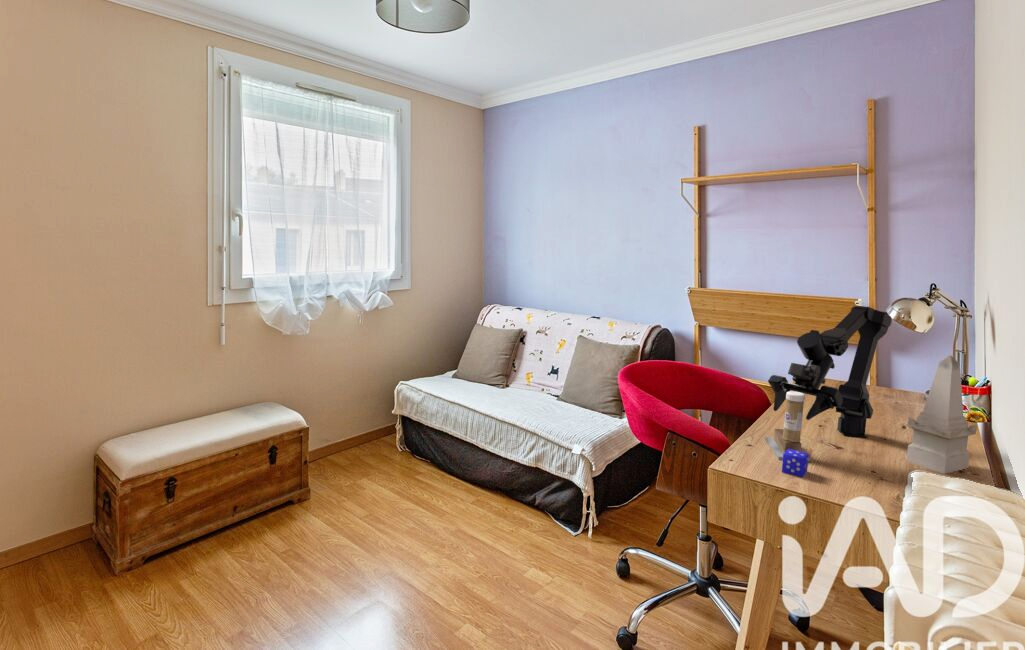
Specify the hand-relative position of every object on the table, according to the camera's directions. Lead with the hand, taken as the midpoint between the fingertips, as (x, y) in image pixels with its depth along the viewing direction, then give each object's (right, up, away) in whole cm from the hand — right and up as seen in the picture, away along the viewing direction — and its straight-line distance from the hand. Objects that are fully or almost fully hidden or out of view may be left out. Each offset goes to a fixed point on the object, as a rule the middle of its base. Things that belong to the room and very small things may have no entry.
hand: (790, 414), depth 150 cm
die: (-4, -14, -9) cm, 17 cm away
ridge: (+2, -11, +6) cm, 13 cm away
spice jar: (+1, -8, +2) cm, 8 cm away
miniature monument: (+38, -13, -3) cm, 40 cm away
